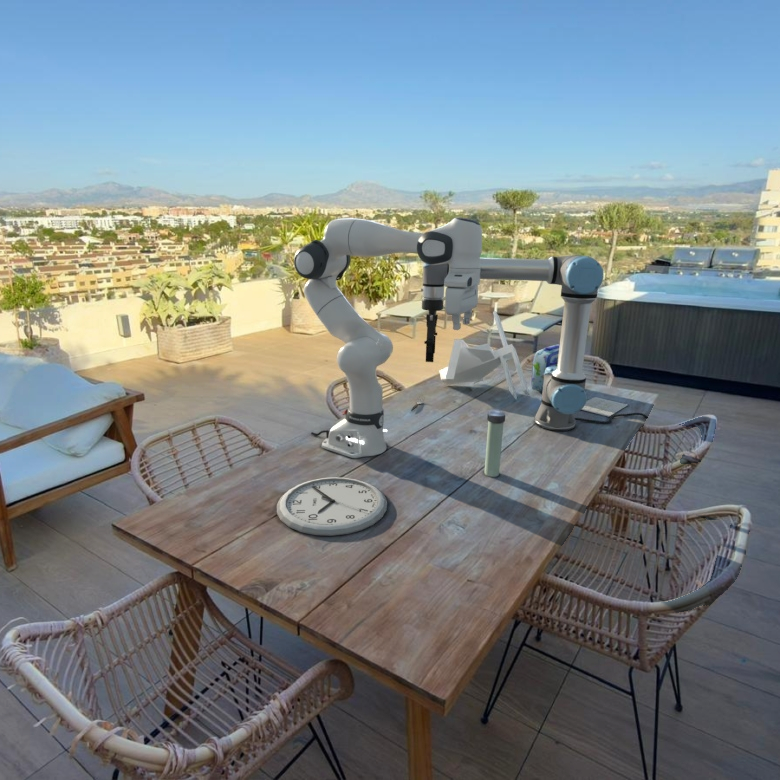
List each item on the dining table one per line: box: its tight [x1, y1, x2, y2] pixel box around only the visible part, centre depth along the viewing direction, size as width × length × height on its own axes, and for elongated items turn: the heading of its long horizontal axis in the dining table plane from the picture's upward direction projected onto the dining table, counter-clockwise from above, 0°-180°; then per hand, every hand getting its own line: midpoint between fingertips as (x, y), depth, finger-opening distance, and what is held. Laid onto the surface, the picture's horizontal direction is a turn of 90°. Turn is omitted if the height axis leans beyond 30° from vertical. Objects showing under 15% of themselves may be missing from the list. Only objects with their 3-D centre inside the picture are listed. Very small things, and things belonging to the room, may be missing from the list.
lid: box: [487, 410, 506, 424], centre depth 157 cm, size 5×5×2 cm
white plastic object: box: [438, 310, 531, 400], centre depth 245 cm, size 37×45×31 cm
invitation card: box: [580, 396, 629, 418], centre depth 226 cm, size 21×1×15 cm
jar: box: [483, 420, 505, 478], centre depth 160 cm, size 4×4×20 cm
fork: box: [410, 395, 425, 412], centre depth 222 cm, size 3×16×2 cm, turn 160°
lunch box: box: [530, 344, 560, 393], centre depth 247 cm, size 26×11×21 cm, turn 134°
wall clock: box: [276, 476, 388, 537], centre depth 142 cm, size 30×2×30 cm
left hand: (461, 326), depth 151 cm, fingers open, 8 cm apart
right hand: (430, 357), depth 190 cm, fingers open, 13 cm apart
